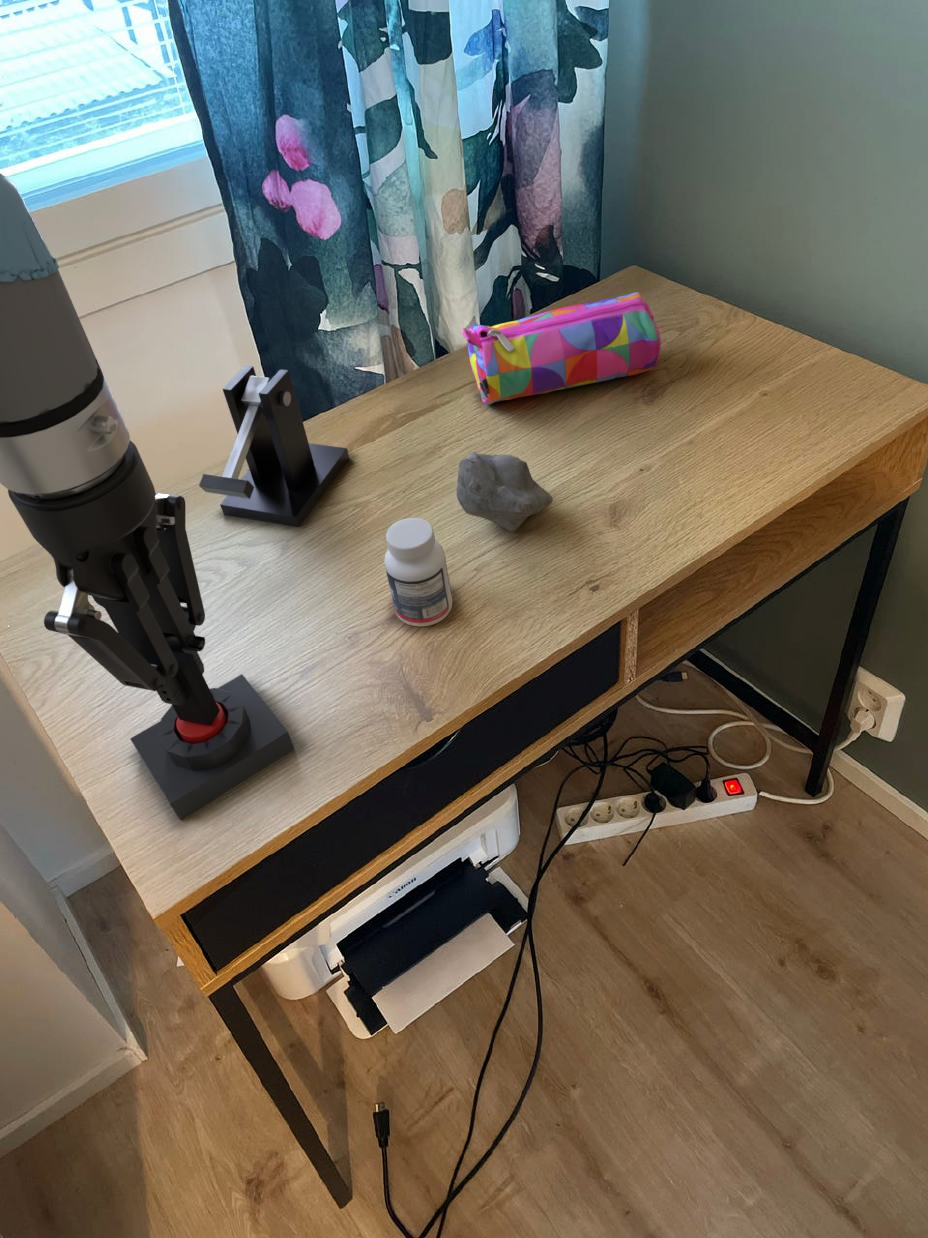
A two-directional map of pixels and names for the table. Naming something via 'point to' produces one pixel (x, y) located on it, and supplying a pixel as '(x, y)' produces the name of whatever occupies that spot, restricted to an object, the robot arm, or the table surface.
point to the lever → (239, 446)
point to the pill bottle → (417, 573)
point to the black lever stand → (280, 455)
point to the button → (201, 728)
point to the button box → (213, 749)
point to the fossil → (499, 489)
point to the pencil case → (564, 348)
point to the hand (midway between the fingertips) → (199, 715)
